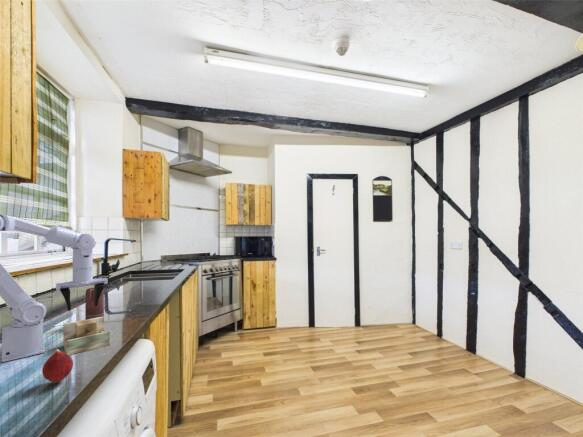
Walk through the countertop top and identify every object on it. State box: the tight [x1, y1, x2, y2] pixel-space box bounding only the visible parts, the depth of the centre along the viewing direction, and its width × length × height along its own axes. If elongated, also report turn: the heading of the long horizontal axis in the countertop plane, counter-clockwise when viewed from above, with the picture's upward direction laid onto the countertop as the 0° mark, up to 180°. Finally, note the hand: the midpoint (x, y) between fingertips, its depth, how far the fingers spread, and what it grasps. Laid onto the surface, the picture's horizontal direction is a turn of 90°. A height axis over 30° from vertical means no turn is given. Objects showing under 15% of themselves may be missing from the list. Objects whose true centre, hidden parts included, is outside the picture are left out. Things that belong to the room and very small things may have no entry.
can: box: [84, 287, 105, 320], centre depth 116 cm, size 6×6×14 cm
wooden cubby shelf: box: [62, 316, 111, 356], centre depth 94 cm, size 11×10×7 cm
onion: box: [41, 348, 74, 384], centre depth 71 cm, size 6×6×8 cm
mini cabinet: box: [74, 319, 97, 338], centre depth 95 cm, size 5×6×6 cm
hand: (82, 307), depth 102 cm, fingers open, 7 cm apart
